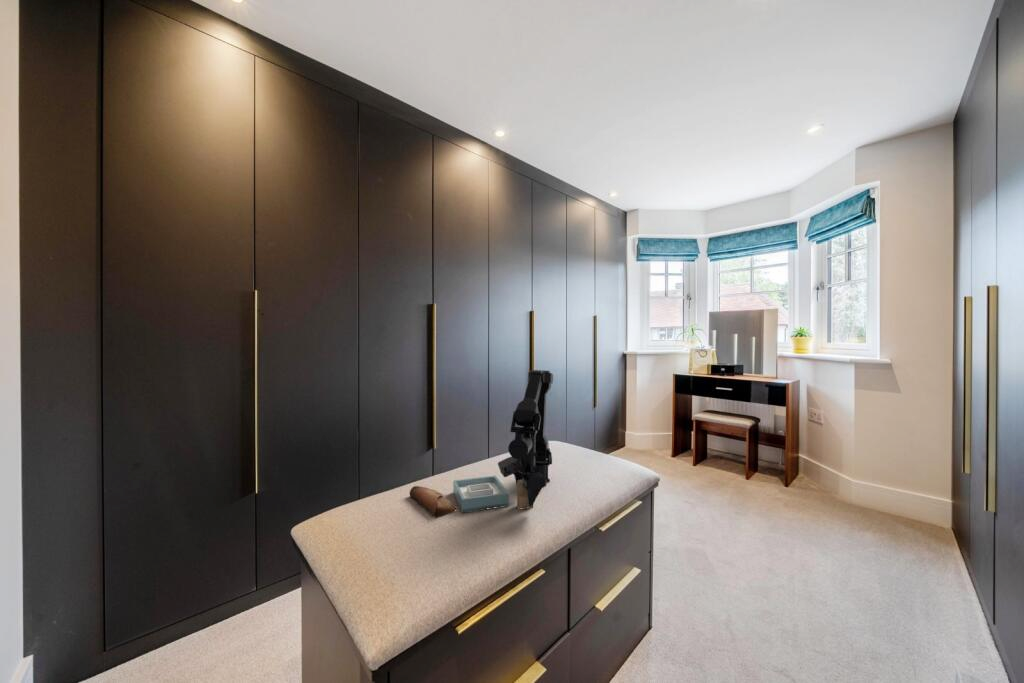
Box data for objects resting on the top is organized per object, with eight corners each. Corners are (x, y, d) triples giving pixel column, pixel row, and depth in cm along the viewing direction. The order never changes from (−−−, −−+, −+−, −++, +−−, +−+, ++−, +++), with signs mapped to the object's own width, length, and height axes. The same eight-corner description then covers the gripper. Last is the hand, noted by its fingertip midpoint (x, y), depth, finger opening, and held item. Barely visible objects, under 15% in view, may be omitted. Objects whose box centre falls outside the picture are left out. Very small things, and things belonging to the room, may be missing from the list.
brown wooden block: (530, 503, 118) (530, 478, 118) (533, 507, 116) (533, 481, 115) (517, 505, 117) (517, 480, 116) (519, 509, 114) (520, 483, 114)
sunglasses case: (460, 509, 113) (450, 494, 111) (442, 528, 110) (431, 512, 107) (432, 489, 127) (423, 475, 125) (415, 505, 124) (406, 490, 121)
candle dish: (495, 486, 130) (495, 475, 130) (508, 506, 116) (509, 493, 116) (453, 492, 125) (453, 480, 125) (461, 513, 112) (462, 499, 111)
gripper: (492, 441, 122) (491, 489, 122) (510, 461, 104) (510, 517, 105) (524, 439, 125) (523, 485, 126) (547, 457, 108) (546, 511, 108)
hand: (525, 498), depth 116 cm, fingers open, 9 cm apart
